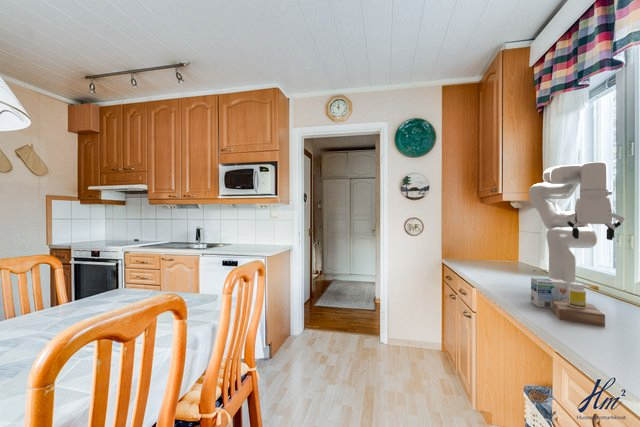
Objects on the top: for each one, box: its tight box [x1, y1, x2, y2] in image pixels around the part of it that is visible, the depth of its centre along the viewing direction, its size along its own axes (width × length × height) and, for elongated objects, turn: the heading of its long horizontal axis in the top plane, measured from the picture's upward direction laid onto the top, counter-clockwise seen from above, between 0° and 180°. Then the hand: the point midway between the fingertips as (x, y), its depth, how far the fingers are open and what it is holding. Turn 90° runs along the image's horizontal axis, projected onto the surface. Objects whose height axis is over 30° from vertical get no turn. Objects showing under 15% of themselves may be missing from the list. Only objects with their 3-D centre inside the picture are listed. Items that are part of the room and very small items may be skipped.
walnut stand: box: [551, 300, 606, 327], centre depth 105 cm, size 12×12×4 cm
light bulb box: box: [530, 276, 568, 309], centre depth 119 cm, size 11×7×11 cm, turn 74°
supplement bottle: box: [567, 282, 587, 308], centre depth 105 cm, size 5×5×8 cm
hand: (592, 239), depth 110 cm, fingers open, 9 cm apart
